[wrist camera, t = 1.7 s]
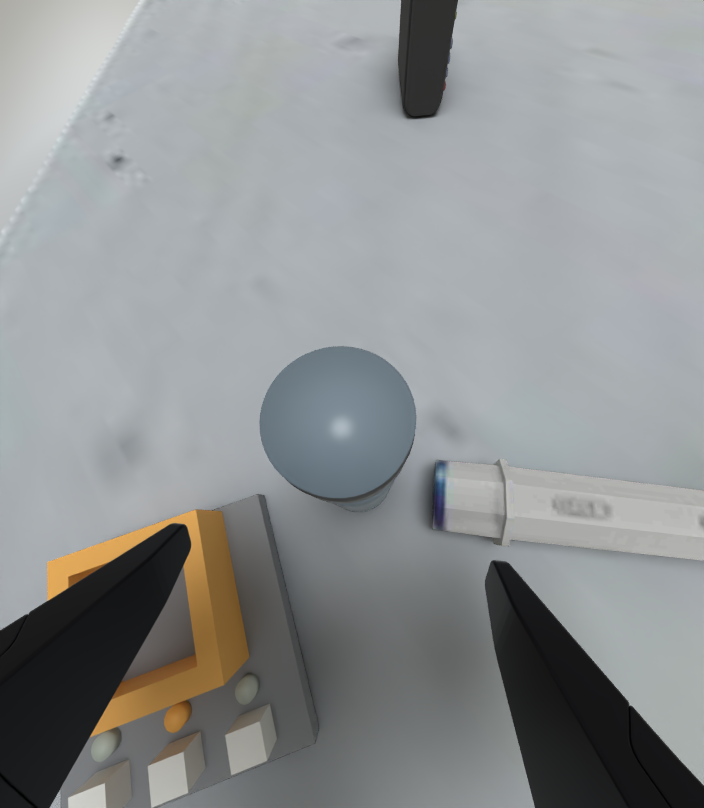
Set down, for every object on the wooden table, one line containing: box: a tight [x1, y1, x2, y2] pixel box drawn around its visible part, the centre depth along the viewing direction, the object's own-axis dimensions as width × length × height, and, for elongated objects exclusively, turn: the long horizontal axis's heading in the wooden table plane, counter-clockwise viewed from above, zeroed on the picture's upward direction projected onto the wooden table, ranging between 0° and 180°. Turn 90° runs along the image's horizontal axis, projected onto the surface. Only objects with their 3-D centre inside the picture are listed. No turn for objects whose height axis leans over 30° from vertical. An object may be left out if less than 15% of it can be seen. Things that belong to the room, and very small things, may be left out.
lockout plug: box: [260, 346, 416, 512], centre depth 14 cm, size 4×4×13 cm
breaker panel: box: [47, 494, 319, 808], centre depth 16 cm, size 12×12×4 cm
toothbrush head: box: [432, 459, 704, 561], centre depth 17 cm, size 5×7×25 cm
